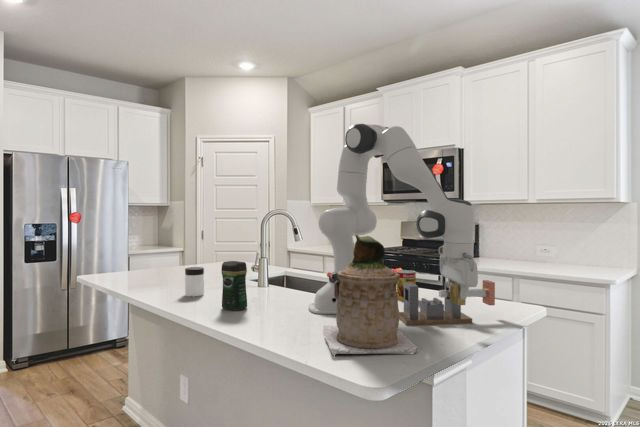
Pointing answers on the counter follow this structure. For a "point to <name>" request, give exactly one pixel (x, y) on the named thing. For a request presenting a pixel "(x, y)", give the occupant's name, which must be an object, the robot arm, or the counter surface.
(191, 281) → the jar
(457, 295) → the frame
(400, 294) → the canned food
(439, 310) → the shaft rig
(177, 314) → the counter surface
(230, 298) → the coffee jar
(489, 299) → the shaft
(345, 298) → the cookie jar
